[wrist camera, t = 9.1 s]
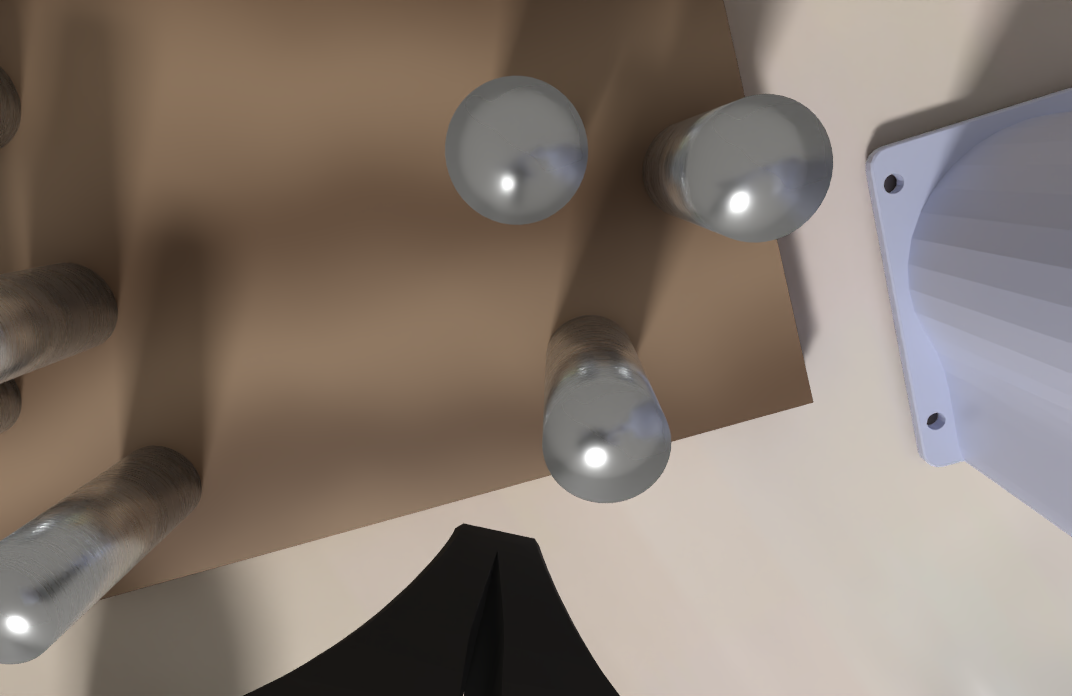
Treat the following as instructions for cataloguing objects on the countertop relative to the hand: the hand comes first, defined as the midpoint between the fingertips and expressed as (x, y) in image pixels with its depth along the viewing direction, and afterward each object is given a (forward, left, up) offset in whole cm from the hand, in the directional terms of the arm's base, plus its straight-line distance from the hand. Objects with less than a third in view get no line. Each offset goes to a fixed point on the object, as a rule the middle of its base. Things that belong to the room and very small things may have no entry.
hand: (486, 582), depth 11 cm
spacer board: (+6, +4, -9) cm, 12 cm away
